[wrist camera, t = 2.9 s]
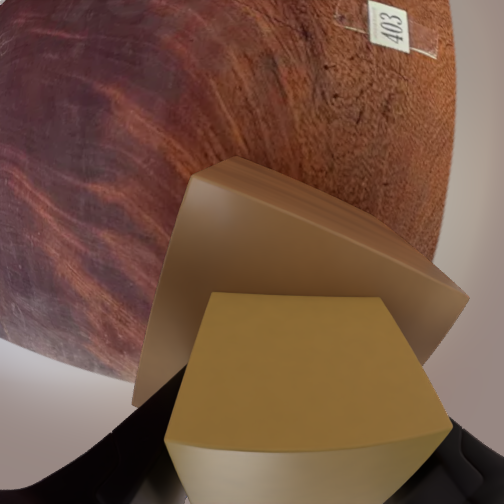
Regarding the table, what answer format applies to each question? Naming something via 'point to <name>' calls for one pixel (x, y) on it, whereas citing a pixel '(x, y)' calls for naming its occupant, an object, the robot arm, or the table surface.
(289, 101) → the table surface
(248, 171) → the stand
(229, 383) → the cheese
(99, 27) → the table surface
